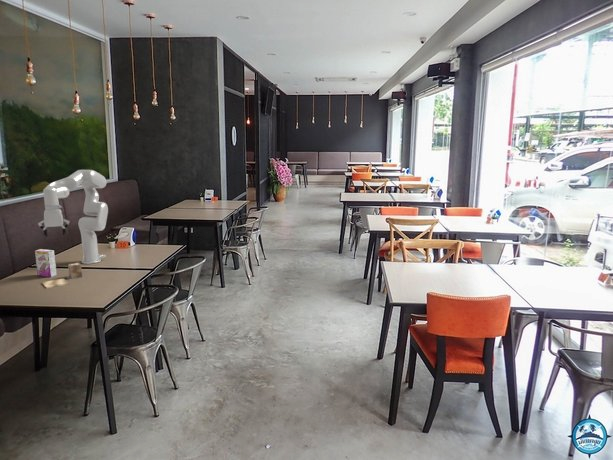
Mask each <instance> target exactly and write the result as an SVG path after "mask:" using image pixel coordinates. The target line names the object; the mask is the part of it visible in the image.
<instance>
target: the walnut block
mask: <svg viewBox="0 0 613 460" xmlns="http://www.w3.org/2000/svg"><path fill="white" fill-rule="evenodd" d="M67 266H68V276H69V277H70V278H71V279H73V280H75V279H74V278H78V279H81V278H80V277H82V275H83V271H82V264H81V262H74V263H73V262H72V263H68V265H67Z"/></svg>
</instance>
